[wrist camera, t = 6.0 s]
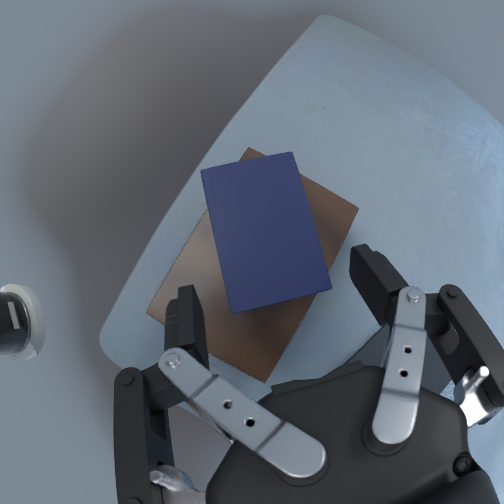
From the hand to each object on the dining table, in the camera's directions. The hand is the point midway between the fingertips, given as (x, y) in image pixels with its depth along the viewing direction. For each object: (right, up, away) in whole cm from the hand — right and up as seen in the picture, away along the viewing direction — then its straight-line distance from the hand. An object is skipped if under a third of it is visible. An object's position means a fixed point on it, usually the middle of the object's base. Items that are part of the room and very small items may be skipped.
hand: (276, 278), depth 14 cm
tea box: (-1, +1, +11) cm, 11 cm away
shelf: (-1, 0, +18) cm, 18 cm away
